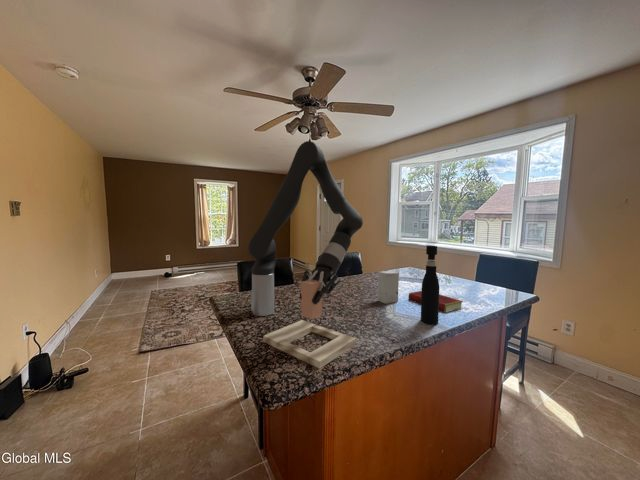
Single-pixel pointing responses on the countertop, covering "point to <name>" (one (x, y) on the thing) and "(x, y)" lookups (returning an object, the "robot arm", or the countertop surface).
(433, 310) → the wine bottle
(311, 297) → the tall salmon pink block
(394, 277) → the skincare box
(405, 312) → the countertop surface
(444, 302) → the hardcover book
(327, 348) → the beige lopsided picture frame
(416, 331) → the countertop surface
